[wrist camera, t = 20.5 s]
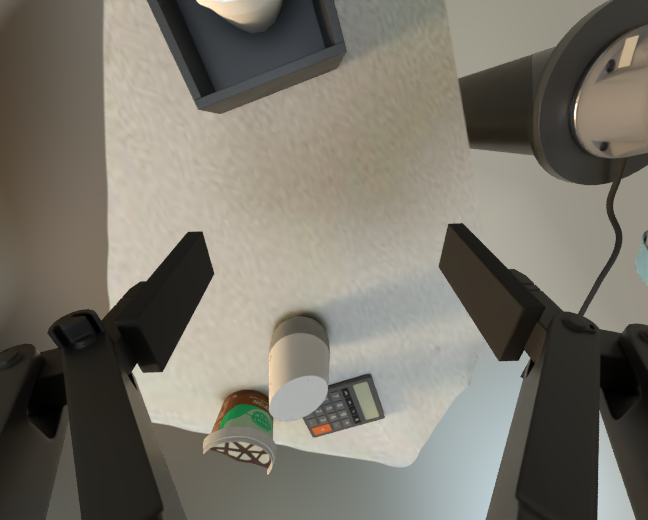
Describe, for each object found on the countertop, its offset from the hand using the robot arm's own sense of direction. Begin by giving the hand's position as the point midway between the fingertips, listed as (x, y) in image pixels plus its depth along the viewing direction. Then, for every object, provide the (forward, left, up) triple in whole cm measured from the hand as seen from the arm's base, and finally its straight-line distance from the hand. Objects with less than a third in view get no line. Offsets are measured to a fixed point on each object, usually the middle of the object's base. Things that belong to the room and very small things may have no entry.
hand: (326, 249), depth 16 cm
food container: (-34, +23, -25) cm, 48 cm away
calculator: (-42, +9, -24) cm, 49 cm away
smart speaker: (-23, +10, -25) cm, 35 cm away
